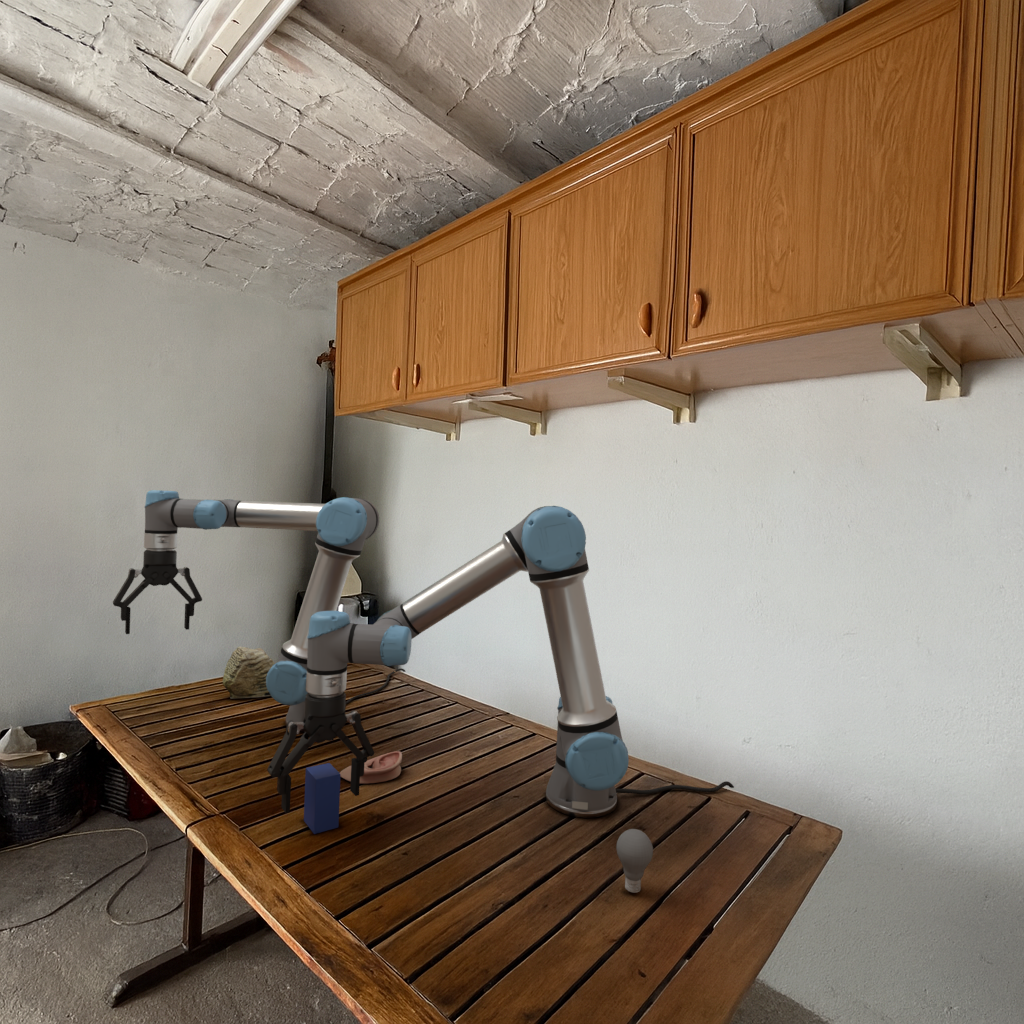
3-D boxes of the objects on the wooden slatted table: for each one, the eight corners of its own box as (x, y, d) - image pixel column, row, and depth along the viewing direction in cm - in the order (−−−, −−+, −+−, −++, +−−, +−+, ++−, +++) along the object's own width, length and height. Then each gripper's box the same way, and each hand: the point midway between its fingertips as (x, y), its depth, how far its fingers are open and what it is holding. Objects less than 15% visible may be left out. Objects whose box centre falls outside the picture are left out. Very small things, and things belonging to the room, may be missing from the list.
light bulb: (610, 879, 108) (613, 822, 108) (644, 879, 109) (647, 822, 109) (619, 902, 102) (622, 840, 102) (655, 901, 103) (658, 840, 103)
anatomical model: (332, 762, 141) (355, 743, 152) (332, 780, 141) (355, 759, 153) (388, 770, 139) (407, 750, 150) (388, 788, 139) (407, 766, 150)
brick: (314, 834, 119) (316, 779, 119) (303, 820, 124) (305, 767, 124) (338, 827, 122) (340, 773, 122) (327, 814, 127) (329, 762, 126)
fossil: (218, 695, 195) (220, 647, 195) (278, 685, 208) (279, 640, 207) (228, 703, 189) (230, 653, 188) (289, 692, 201) (290, 645, 201)
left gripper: (104, 551, 154) (101, 638, 155) (215, 550, 169) (212, 629, 169) (102, 548, 160) (99, 632, 161) (209, 547, 175) (207, 624, 175)
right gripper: (264, 707, 112) (259, 826, 112) (393, 688, 127) (388, 793, 127) (253, 696, 118) (248, 808, 118) (377, 679, 133) (373, 779, 133)
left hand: (157, 630), depth 165 cm, fingers open, 13 cm apart
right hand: (321, 801), depth 123 cm, fingers open, 13 cm apart
